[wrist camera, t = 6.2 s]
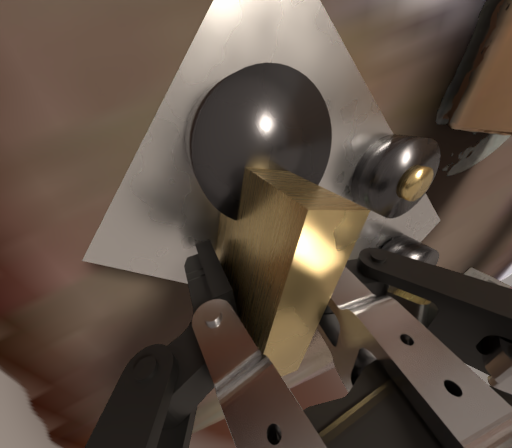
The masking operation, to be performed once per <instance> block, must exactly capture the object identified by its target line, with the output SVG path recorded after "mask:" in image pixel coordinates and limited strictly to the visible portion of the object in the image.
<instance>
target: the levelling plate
mask: <svg viewBox="0 0 512 448" xmlns="http://www.w3.org/2000/svg"><path fill="white" fill-rule="evenodd" d="M259 63H279V64H283V65H287V66H290V67H292V68H294V69H296V70H298V71H300V72H301V73H303V74H304V75H305V76H307V77H308V78H309V79H310V80H311V81H312V82H313V83H314V85H315V86H316V87H317V89H318V90H319V91H320V93H321V95H322V97H323V99H324V100H325V103H326V106H327V108H328V112H329V116H330V120H331V128H332V143H331V151H330V157H329V161H328V164H327V167H326V170H325V173H324V175H323V177H322V179H321V181H320V183H319V186H321V187H323V188H325V189H327V190H329V191H331V192H333V193H335V194H337V195H340V196H342V197H344V198H346V199H348V200H350V201H352V202H354V203H356V204H358V205H360V206H363V207H365V208H367V209H369V210H371V211H370V213H369V215H368V217H367V219H366V221H365V224H364V226H363V228H362V230H361V232H360V235H359V237H358V239H357V241H356V243H355V246H354V248H353V250H352V252H351V254H350V256H349V259H348V260H353V259H358V257H359V253H360V252H361V251H362V250H363V249H366V248H379V249H381V248H382V247H383V246H384V245H386V244H387V243H388V242H389V241H391V240H392V239H394V238H396V237H398V236H401V235H407V236H409V237H411V238H413V239H415V240H417V241H419V242H421V241H422V240H423V239H424V238H425V237H426V236H427V235H428V234H429V233H430V231H431V230H432V229H433V228H434V227H435V226H436V225H437V224H438V223H439V222H440V219H439V217H438V215H437V213H436V211H435V209H434V208H433V206H432V204H431V202H430V200H429V199H428V197H427V195H426V192H427V190H428V189H429V187H430V185H431V184H432V182H433V180H434V178H435V175H436V173H437V170H438V167H439V163H440V147H439V145H438V143H437V142H436V141H435V140H434V139H431V138H422V137H413V136H403V135H393V133H392V131H391V129H390V127H389V125H388V124H387V122H386V120H385V118H384V116H383V115H382V113H381V111H380V109H379V107H378V105H377V104H376V102H375V100H374V98H373V96H372V94H371V93H370V91H369V89H368V87H367V85H366V83H365V82H364V80H363V78H362V76H361V74H360V72H359V71H358V69H357V67H356V65H355V63H354V62H353V60H352V58H351V56H350V54H349V52H348V51H347V49H346V47H345V45H344V43H343V41H342V40H341V38H340V36H339V34H338V32H337V30H336V29H335V27H334V25H333V23H332V21H331V20H330V18H329V16H328V14H327V12H326V10H325V9H324V7H323V5H322V3H321V1H320V0H213V2H212V4H211V6H210V8H209V10H208V12H207V14H206V16H205V18H204V20H203V22H202V24H201V26H200V28H199V30H198V32H197V34H196V36H195V38H194V40H193V42H192V44H191V46H190V48H189V50H188V52H187V54H186V56H185V58H184V60H183V62H182V64H181V66H180V68H179V70H178V72H177V74H176V76H175V78H174V80H173V82H172V84H171V86H170V88H169V89H168V91H167V93H166V95H165V97H164V99H163V101H162V103H161V105H160V107H159V109H158V111H157V113H156V115H155V117H154V119H153V121H152V123H151V125H150V127H149V129H148V131H147V133H146V135H145V137H144V139H143V141H142V143H141V145H140V147H139V149H138V151H137V153H136V155H135V157H134V159H133V161H132V163H131V165H130V167H129V169H128V171H127V173H126V175H125V177H124V179H123V181H122V183H121V185H120V187H119V189H118V191H117V193H116V195H115V197H114V199H113V201H112V202H111V204H110V206H109V208H108V210H107V212H106V214H105V216H104V218H103V220H102V222H101V224H100V226H99V228H98V230H97V232H96V234H95V236H94V238H93V240H92V242H91V244H90V246H89V248H88V250H87V252H86V254H85V256H84V258H83V260H82V261H86V262H90V263H95V264H99V265H104V266H109V267H113V268H118V269H122V270H127V271H132V272H136V273H141V274H145V275H150V276H154V277H159V278H164V279H168V280H173V281H177V282H182V283H186V284H188V282H187V277H186V273H185V268H184V265H185V262H186V259H187V257H190V256H193V255H196V254H198V252H197V249H196V246H195V244H196V243H199V242H202V241H205V240H208V239H209V240H210V242H211V244H212V246H213V248H214V250H215V253H216V245H217V236H218V227H219V217H220V211H219V210H217V209H216V208H215V207H214V206H213V205H212V204H211V202H210V201H209V200H208V199H207V197H206V196H205V194H204V192H203V191H202V189H201V187H200V185H199V183H198V181H197V179H196V177H195V175H194V173H193V171H192V169H191V167H190V165H189V162H188V158H187V154H186V148H185V131H186V125H187V121H188V117H189V115H190V112H191V110H192V108H193V106H194V104H195V102H196V101H197V99H198V98H199V97H200V95H201V94H202V93H203V92H204V91H205V90H206V89H207V88H208V87H210V86H211V85H212V84H214V83H215V82H217V81H219V80H221V79H223V78H225V77H227V76H229V75H231V74H233V73H235V72H237V71H239V70H241V69H243V68H245V67H247V66H251V65H254V64H259Z"/></svg>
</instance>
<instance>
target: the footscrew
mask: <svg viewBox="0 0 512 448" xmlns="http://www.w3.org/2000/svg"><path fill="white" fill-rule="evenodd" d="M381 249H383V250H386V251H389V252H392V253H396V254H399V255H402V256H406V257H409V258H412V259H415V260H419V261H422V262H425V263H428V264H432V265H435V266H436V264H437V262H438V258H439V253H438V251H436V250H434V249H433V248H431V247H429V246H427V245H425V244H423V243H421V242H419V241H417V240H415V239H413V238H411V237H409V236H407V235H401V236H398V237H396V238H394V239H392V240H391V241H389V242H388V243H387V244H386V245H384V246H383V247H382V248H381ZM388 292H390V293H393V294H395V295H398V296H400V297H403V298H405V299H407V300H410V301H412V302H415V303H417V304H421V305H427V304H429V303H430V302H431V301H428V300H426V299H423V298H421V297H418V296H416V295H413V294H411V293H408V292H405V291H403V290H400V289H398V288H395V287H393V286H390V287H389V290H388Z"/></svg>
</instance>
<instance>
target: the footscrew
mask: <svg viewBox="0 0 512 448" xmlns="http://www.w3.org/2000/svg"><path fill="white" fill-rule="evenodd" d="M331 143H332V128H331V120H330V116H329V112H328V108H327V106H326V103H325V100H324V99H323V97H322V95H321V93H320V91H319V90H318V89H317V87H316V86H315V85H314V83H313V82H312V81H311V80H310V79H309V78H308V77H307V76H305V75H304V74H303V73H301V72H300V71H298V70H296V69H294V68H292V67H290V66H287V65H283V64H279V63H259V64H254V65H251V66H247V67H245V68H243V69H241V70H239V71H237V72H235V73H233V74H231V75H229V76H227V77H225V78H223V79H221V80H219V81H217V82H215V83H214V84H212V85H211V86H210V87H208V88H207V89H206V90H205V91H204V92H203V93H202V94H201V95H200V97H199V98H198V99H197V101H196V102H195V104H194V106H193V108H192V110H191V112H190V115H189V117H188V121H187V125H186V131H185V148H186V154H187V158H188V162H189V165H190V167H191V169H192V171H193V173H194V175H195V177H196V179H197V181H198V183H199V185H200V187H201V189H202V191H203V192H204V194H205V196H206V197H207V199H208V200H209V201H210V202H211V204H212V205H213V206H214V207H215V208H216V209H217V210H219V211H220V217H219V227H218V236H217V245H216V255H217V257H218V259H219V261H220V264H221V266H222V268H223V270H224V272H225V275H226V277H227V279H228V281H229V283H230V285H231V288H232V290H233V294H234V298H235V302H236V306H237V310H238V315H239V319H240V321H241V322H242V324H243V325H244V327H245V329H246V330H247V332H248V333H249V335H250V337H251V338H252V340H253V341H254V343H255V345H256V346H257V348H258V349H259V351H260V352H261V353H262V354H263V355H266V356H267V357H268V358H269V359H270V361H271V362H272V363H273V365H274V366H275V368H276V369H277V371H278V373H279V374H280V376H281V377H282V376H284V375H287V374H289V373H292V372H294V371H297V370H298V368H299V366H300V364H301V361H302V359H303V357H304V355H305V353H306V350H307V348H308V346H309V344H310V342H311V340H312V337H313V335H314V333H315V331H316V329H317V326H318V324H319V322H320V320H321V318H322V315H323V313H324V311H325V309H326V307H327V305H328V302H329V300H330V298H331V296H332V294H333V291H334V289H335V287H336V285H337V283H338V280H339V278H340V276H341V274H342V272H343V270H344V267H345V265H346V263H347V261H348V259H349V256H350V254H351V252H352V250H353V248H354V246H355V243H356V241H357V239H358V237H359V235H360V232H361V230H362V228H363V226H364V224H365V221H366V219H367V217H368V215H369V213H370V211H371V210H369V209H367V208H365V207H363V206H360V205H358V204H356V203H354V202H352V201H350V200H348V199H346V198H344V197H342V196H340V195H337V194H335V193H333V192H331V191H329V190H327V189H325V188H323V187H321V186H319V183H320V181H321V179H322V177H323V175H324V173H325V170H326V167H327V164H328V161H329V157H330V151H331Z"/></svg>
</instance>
